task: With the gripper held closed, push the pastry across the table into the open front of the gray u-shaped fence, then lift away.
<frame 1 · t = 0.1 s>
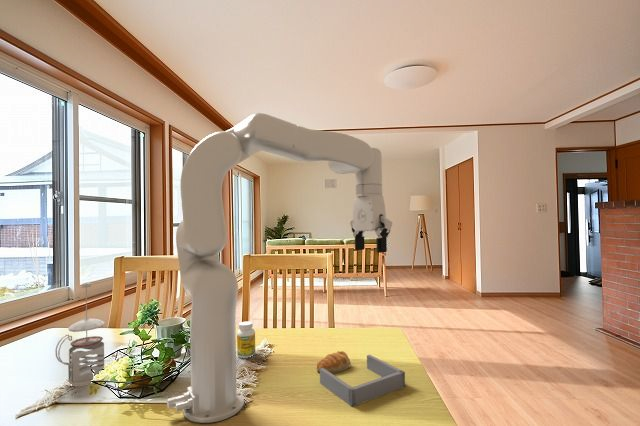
hand: (370, 251, 101), 31 cm above the table, fingers open, 9 cm apart
gray u-shaped fence: (361, 384, 85), on the table
pastry: (334, 369, 95), on the table
french press: (83, 379, 91), on the table
supplement bottle: (246, 355, 105), on the table
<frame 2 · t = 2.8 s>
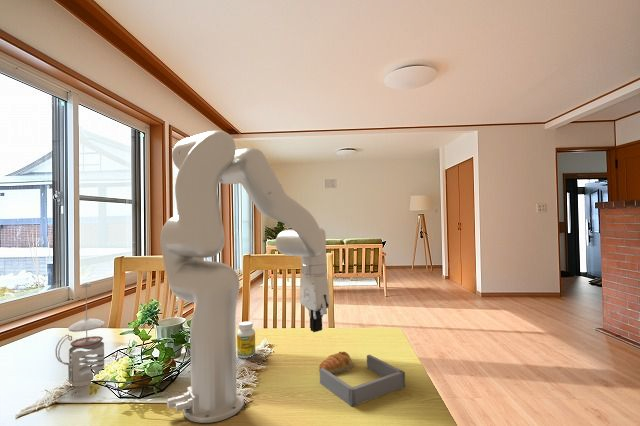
hand: (316, 330, 105), 7 cm above the table, fingers closed
nothing on the table moved.
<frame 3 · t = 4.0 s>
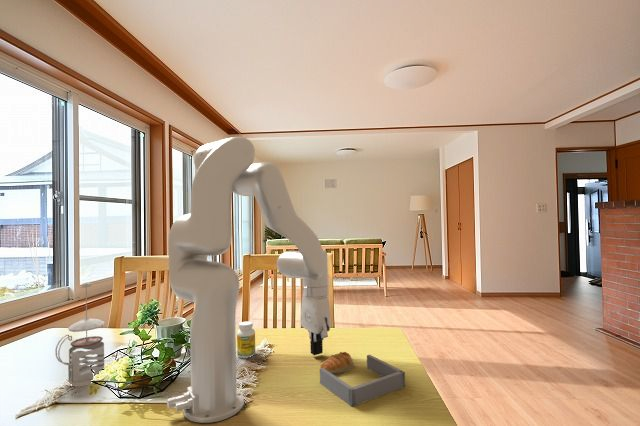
hand: (316, 353, 103), 1 cm above the table, fingers closed
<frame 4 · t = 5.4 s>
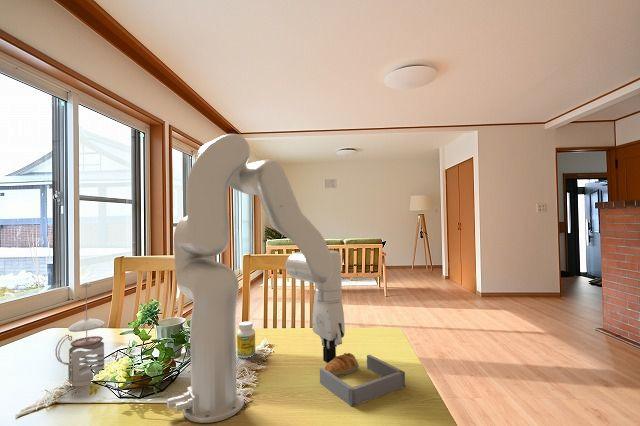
hand: (329, 360, 98), 1 cm above the table, fingers closed
pastry: (342, 371, 94), on the table
everything else where it was.
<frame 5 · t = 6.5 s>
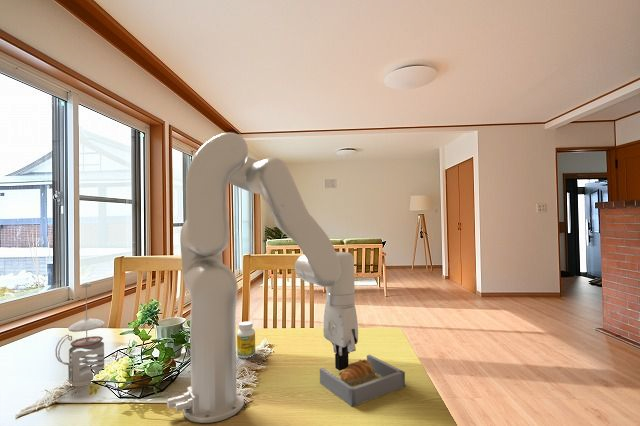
hand: (342, 368, 93), 1 cm above the table, fingers closed
pastry: (358, 379, 89), on the table
everything else where it was.
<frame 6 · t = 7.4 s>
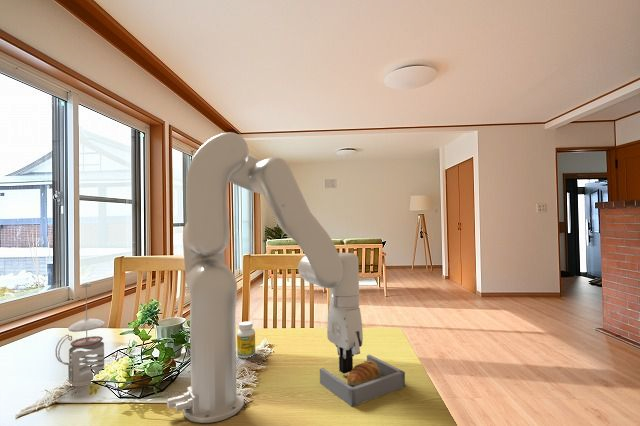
hand: (346, 371, 91), 1 cm above the table, fingers closed
pastry: (364, 380, 88), on the table
everything else where it was.
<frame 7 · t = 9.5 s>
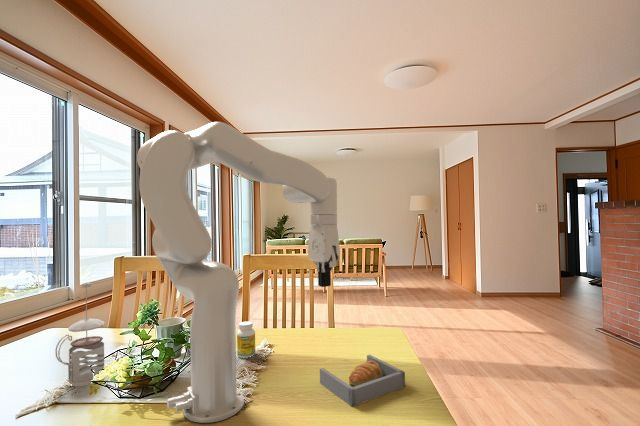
hand: (324, 285, 99), 22 cm above the table, fingers closed
nothing on the table moved.
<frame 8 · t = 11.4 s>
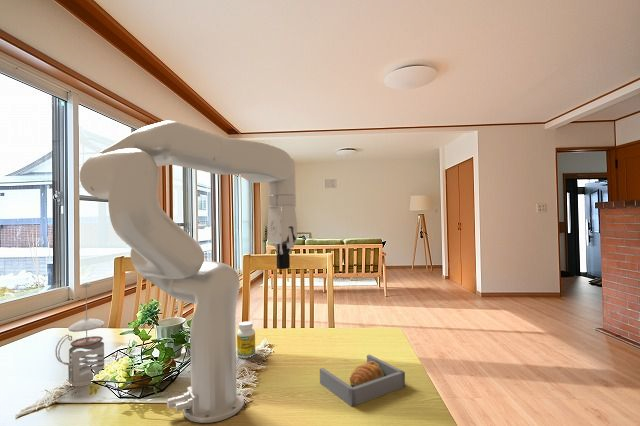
hand: (283, 268, 97), 27 cm above the table, fingers closed
nothing on the table moved.
at the end: pastry inside the target area on the gray u-shaped fence (3.1 cm from its centre), point -0.5 cm above the gray u-shaped fence's base; pastry moved 11.1 cm from its start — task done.
